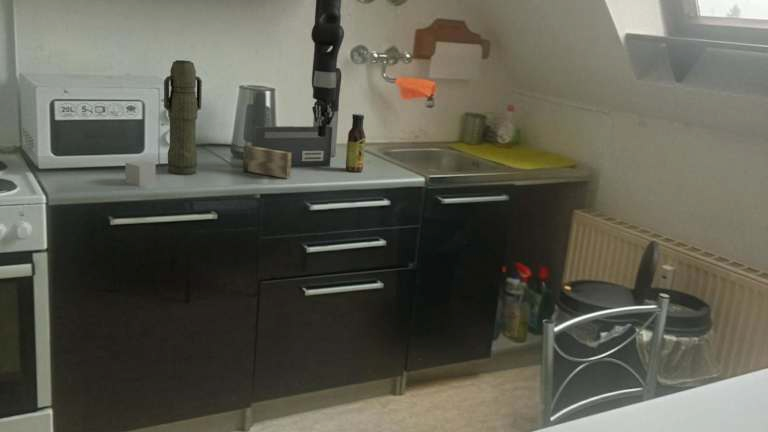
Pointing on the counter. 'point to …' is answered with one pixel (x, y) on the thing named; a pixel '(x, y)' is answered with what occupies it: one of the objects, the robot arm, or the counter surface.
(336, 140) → the robot arm
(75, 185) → the counter surface
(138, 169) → the light grey cube
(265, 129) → the panel
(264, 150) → the wooden block
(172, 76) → the thermos
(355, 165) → the sauce bottle
